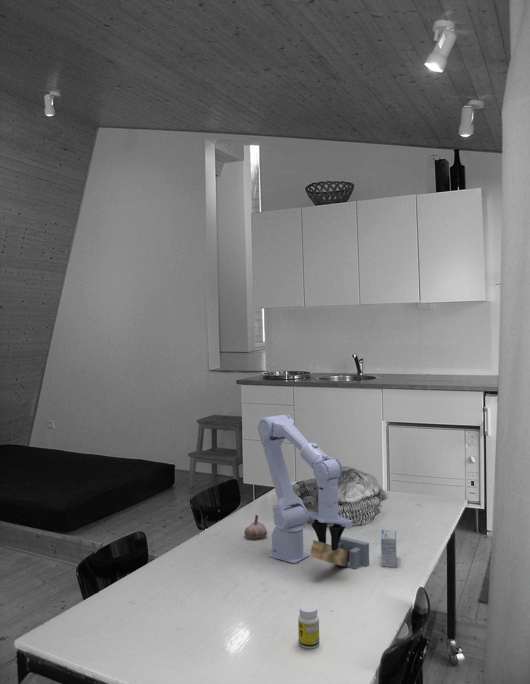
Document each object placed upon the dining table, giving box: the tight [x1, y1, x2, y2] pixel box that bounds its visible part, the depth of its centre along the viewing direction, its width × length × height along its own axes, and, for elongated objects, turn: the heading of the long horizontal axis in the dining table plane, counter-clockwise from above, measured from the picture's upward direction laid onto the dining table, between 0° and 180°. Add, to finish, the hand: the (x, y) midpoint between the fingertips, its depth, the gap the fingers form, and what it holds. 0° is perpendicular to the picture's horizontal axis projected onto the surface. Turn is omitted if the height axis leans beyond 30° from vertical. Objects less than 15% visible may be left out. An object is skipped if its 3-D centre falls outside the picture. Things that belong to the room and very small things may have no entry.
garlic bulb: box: [243, 513, 268, 540], centre depth 211 cm, size 8×7×8 cm
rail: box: [309, 539, 349, 568], centre depth 181 cm, size 16×4×4 cm, turn 142°
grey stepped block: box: [330, 535, 370, 570], centre depth 189 cm, size 12×6×6 cm, turn 52°
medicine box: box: [380, 529, 398, 568], centre depth 188 cm, size 8×4×9 cm, turn 168°
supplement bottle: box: [297, 603, 320, 649], centre depth 143 cm, size 5×5×8 cm
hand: (328, 547), depth 181 cm, fingers closed on rail, 3 cm apart
